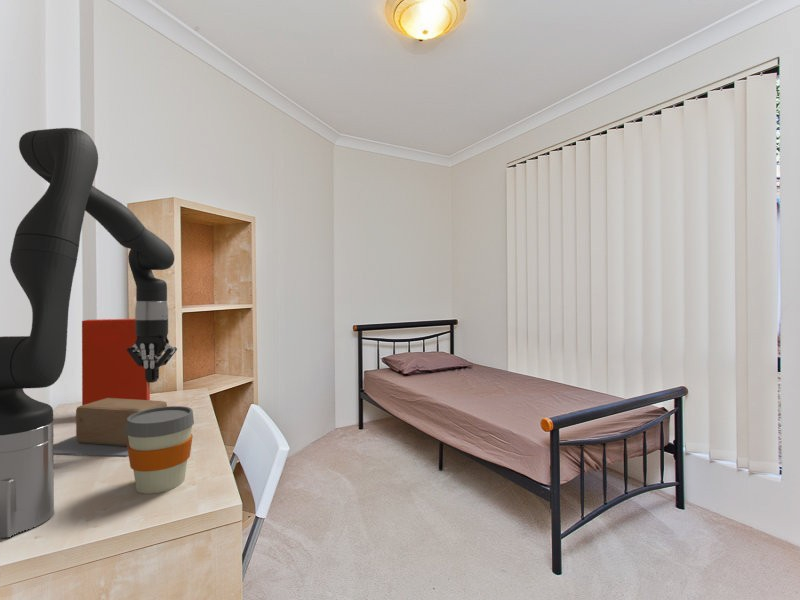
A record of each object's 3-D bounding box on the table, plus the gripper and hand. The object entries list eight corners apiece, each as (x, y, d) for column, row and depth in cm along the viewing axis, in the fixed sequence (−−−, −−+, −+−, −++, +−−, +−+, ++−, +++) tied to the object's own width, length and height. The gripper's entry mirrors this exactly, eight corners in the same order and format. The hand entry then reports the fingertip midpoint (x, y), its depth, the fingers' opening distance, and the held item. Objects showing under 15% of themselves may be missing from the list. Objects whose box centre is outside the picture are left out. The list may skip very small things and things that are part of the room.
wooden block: (139, 410, 101) (74, 406, 104) (140, 448, 101) (74, 443, 104) (168, 400, 111) (107, 396, 114) (168, 435, 111) (107, 430, 114)
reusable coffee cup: (186, 465, 93) (186, 402, 93) (200, 484, 84) (200, 415, 83) (122, 481, 85) (121, 413, 84) (130, 505, 75) (130, 428, 75)
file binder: (89, 414, 131) (88, 319, 130) (149, 408, 138) (149, 318, 138) (82, 421, 123) (81, 321, 123) (146, 414, 131) (146, 319, 131)
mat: (126, 456, 98) (126, 454, 97) (35, 453, 99) (35, 452, 99) (167, 433, 113) (167, 432, 113) (89, 431, 115) (89, 430, 115)
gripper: (117, 318, 101) (117, 384, 102) (166, 319, 101) (166, 385, 101) (138, 316, 109) (138, 378, 109) (184, 317, 108) (184, 379, 109)
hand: (152, 381), depth 105 cm, fingers closed
